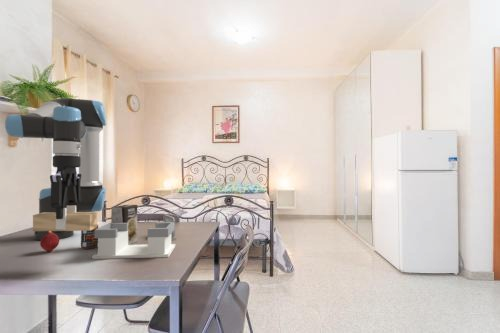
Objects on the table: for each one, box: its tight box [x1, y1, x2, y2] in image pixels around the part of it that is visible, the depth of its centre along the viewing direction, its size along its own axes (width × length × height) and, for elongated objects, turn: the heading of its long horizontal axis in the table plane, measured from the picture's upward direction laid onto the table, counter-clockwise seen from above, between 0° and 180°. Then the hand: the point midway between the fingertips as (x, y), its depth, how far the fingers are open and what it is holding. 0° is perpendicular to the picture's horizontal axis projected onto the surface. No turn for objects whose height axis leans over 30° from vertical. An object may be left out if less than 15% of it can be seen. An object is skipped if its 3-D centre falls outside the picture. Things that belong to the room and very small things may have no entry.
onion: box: [39, 231, 60, 253], centre depth 103 cm, size 6×6×8 cm
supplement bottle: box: [80, 224, 99, 250], centre depth 110 cm, size 6×6×11 cm
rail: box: [32, 211, 98, 232], centre depth 88 cm, size 5×17×5 cm, turn 95°
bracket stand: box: [91, 221, 176, 260], centre depth 103 cm, size 14×26×10 cm, turn 95°
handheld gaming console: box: [146, 214, 177, 241], centre depth 125 cm, size 13×9×10 cm
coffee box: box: [110, 204, 138, 245], centre depth 115 cm, size 9×6×16 cm
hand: (66, 226), depth 88 cm, fingers closed on rail, 5 cm apart
